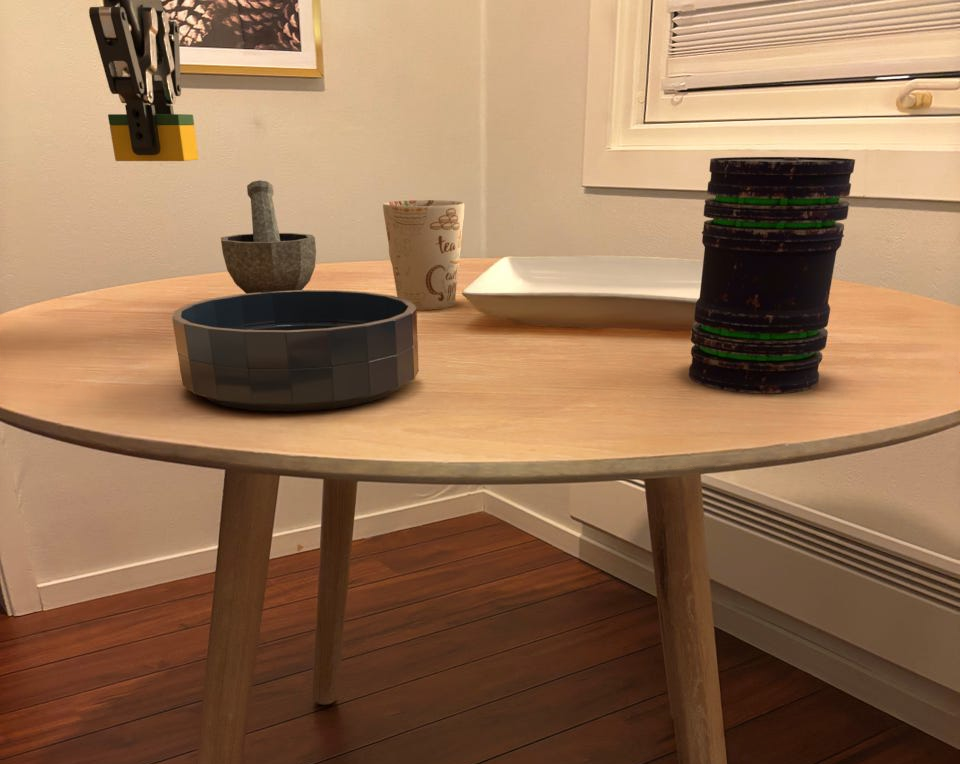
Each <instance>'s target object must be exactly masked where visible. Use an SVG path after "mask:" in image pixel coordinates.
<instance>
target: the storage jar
mask: <svg viewBox="0 0 960 764" xmlns="http://www.w3.org/2000/svg"><path fill="white" fill-rule="evenodd" d="M855 164H856V159H855V158H843V157H842V158H841V157H817V156H814V157H812V156H806V157H805V156H735V157H733V156H732V157H731V156H730V157H714V158H710V159H709V171H708V172H709V173H710V180H709V181H708V182H707V189H706V190H707V191H706V194H707V195H710V196H715V197H709V198H707V199H705V200H704V207H703V217H705V218H709V219H707V220H705V221H704V222H703V227H702V231H701V234H702V238H701V243H702V245H703V247H704V251H703V259H702V260H703V269H702V279H701V289H700V298H699V299H698V300H697V302H696V306H695V316H694V320H695V321H696V323H694V324H693V325H692V331H690V342H691V343H692V344H693V345H692V346H691V348H690V355H691V364H690V365H689V368H688V378H689V379H690V380H691V381H693V382H695V383H697V384H699V385H702V386H705V387H708V388H712V389H717V390H723V391H729V392H737V393H749V394H788V393H796V392H803V391H807V390H810V389H812V388H815V387H816V386H817V385H818V383H819V379H820V373H819V365H820V364H821V362H822V361H823V353H822V351H823V350H825V348H826V346H827V341H828V334H829V331H828V330H827V327H828V325H829V320H830V314H831V306H830V304H829V300H830V299H829V298H830V293H831V286H832V282H833V281H832V280H833V276H834V271H835V269H834V268H835V262H836V259H837V258H836V257H837V251H838V250H839V249H840V247H841V246H842V241H843V238H844V237H845V235H844V231H845V224H844V223H842V222H838V221H844V220H846V219H848V214H849V208H850V207H849V206H850V201H848V200H844V199H840V198H846V197H849V196H850V194H851V189H852V188H851V187H852V183H850V181H851V175H852V174H853V173H854V171H855Z"/></svg>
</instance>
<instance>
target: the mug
mask: <svg viewBox="0 0 960 764" xmlns="http://www.w3.org/2000/svg"><path fill="white" fill-rule="evenodd" d="M382 210H383V219H384V223H385V224H384V225H385V231H386V235H387V242H388V254H389V259H390V264H391V266H392V273H393V279H394V285H395V291H396V292H395V293H396V297H399V298H402V299H406V300H409V301H411V302H412V303H413V304H414V305H415V306H416V307H417V311H418V310H421V311H424V310H425V311H428V310H429V311H430V310H442V309H448V308H451V307H453V306H454V305H455V303H456V296H457V288H458V287H457V285H458V278H459V277H458V276H459V267H460V256H461V247H462V238H463V228H464V220H465V219H464V218H465V202H463V201H459V200H443V199H440V200H439V199H428V200H427V199H416V200H415V199H414V200H396V201H395V200H394V201H386V202H383V204H382Z"/></svg>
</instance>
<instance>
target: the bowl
mask: <svg viewBox="0 0 960 764" xmlns="http://www.w3.org/2000/svg"><path fill="white" fill-rule="evenodd" d="M171 319H172V321H171V322H172V326H173V327H172V328H173V331H174V332H173V334H174V340H175V346H176V350H177V358H178V364H179V365H178V366H179V373H180V379H181V385H182V387H184V388H186V389H187V390H189V391H190V392H191V393H193V394H194V395H197V396H201V397H204V398H206V399H207V400H208V401H210V402H213V403H215V404H218V405H221V406H224V407H225V406H226V407H230V408H235V409H240V410H250V411H261V412H309V411H310V412H311V411H322V410H331V409H339V408H340V409H341V408H346V407H352V406H358V405H362V404H366V403H371V402H373V401H377V400H380V399H382V398H385V397H388V396H390V395H391V394H394V393H395V392H397V391H398V390H399V389H400V388H401V387H403V386H405V385H407V384H409V383H410V382H413V381H414V380H415V379H416V377H417V375H418V373H419V371H420V370H419V368H420V367H419V341H418V337H419V336H418V309H417V307H416V306H415V305H414V304H413V303H412V302H411V301H409V300H406V299H402V298H399V297H397V296H396V295H391V294H384V293H379V292H378V293H376V292H370V291H369V292H368V291H357V290H341V289H338V290H337V289H302V290H293V291H271V292H259V293H248V294H246V293H238V294H232V295H225V296H219V297H212V298H207V299H203V300H199V301H195V302H191V303H188V304H185V305H183V306H181V307H179V308H177V309H175V310H174V311H173V312H172V317H171Z"/></svg>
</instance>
